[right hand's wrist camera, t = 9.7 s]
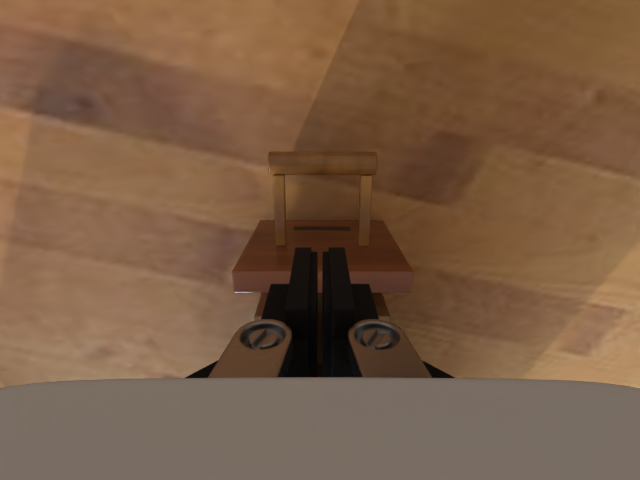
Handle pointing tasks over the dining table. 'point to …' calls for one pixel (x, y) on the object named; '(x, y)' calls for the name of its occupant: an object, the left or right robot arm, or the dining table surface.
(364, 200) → the drawer
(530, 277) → the dining table surface
